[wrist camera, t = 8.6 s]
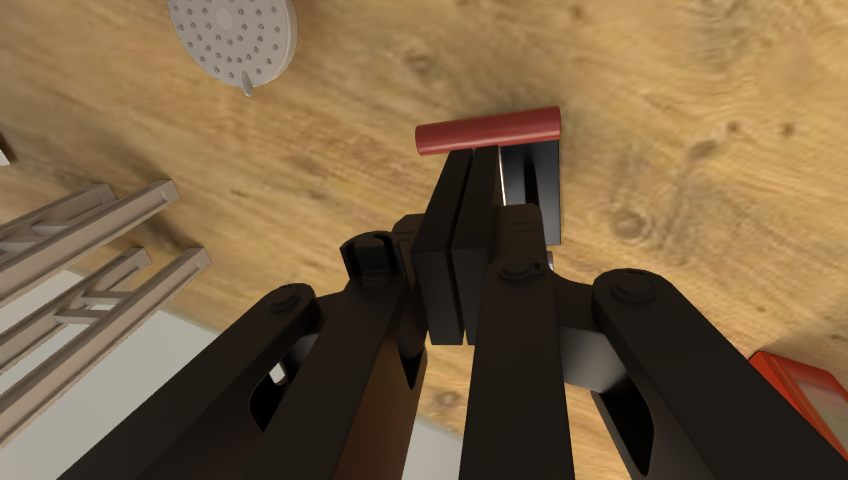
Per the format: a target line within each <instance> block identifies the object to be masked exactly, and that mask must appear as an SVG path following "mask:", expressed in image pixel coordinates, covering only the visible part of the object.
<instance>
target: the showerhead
mask: <svg viewBox="0 0 848 480" xmlns="http://www.w3.org/2000/svg"><path fill="white" fill-rule="evenodd" d="M168 6H169V12H170V16H171V19H172V22H173V26H174V28H175V30H176V32H177V35H178V37H179V39H180V41H181V42H182V44H183V46H184V47H185V49H186V50H187V52H188V53H189V54H190V56H191V57H192V58H193V59H194V61H195V62H196V63H197V64H198V65H199V66H200V67H201V68H202V69H203V70H205V71H206V72H207V73H208V74H210V75H211V76H213V77H214V78H216V79H217V80H219V81H221V82H223V83H226V84H228V85H231V86H235V87H241V88H243V91H244V94H245V95H246V96H247V97H252V96H253V87H257V86H260V85H263V84H265V83H267V82H269V81H272V80H274V79H276V78H277V77H279V76H280V75H281V74H282V73H283V72H284V71H285V70H286V69H287V67H288V66H289V64H290V62H291V61H292V58H293V56H294V53H295V50H296V45H297V37H298V26H297V17H296V12H295V8H294V4H293V1H292V0H168Z"/></svg>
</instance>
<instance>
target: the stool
mask: <svg viewBox="0 0 848 480" xmlns="http://www.w3.org/2000/svg"><path fill="white" fill-rule="evenodd" d="M180 198H181V197H180V195H179V193H178V191H177V188H176V186H175V184H174V182H173V180H156V181H154V182H152V183H150V184H148V185H146V186H144V187H143V188H141V189H139V190H137V191H135V192H133V193H131V194H129V195H127V196H125V197H123V198H121V199H119V200H118V201H117V199H116V197H115V195H114V194H113V192H112V190H111V188H110V186H109V185H108V183H96V184H91V185H89V186H87V187H84V188H82V189H80V190H78V191H75V192H73V193H71V194H69V195H67V196H64V197H62V198H60V199H58V200H55V201H53V202H51V203H49V204H47V205H44V206H42V207H40V208H38V209H35V210H33V211H31V212H29V213H27V214H24V215H22V216H20V217H18V218H15V219H13V220H11V221H9V222H7V223H4V224H2V225H0V309H1V308H2V307H4V306H6V305H7V304H9V303H11V302H12V301H14V300H16V299H17V298H19V297H21V296H22V295H23V294H25V293H27V292H29V291H30V290H32V289H34V288H35V287H37V286H38V285H40V284H42V283H43V282H45V281H47V280H48V279H50V278H52V277H53V276H55V275H56V274H58V273H60V272H61V271H63V270H65V269H66V268H68V267H69V266H71V265H73V264H74V263H76V262H78V261H79V260H81V259H83V258H84V257H86V256H87V255H89V254H91V253H92V252H94V251H96V250H97V249H99V248H100V247H102V246H104V245H105V244H107V243H109V242H110V241H112V240H114V239H115V238H117V237H118V236H120V235H122V234H123V233H125V232H127V231H128V230H130V229H132V228H133V227H135V226H136V225H138V224H140V223H141V222H143V221H145V220H146V219H148V218H149V217H151V216H153V215H154V214H156V213H158V212H159V211H161V210H163V209H164V208H166V207H167V206H169V205H171V204H172V203H174V202H176V201H177V200H179V199H180ZM151 263H152V262H151V260H150V258H149V256H148V254H147V253H146V251H145V249H144V248H130V249H128V250H126V251H125V252H123V253H122V254H120V255H119V256H117V257H116V258H114V259H113V260H111V261H110V262H108V263H107V264H105V265H104V266H102V267H101V268H99V269H98V270H96V271H95V272H93V273H92V274H90V275H89V276H87V277H86V278H84V279H83V280H81V281H80V282H78V283H77V284H75V285H74V286H72V287H71V288H69V289H68V290H66V291H65V292H63V293H61V294H60V295H58V296H57V297H55V298H54V299H52V300H51V301H49V302H48V303H46V304H45V305H43V306H42V307H40V308H39V309H37V310H36V311H34V312H33V313H31V314H30V315H28V316H27V317H25V318H24V319H22V320H21V321H19V322H18V323H16V324H15V325H13V326H12V327H10V328H9V329H7V330H6V331H4V332H3V333H1V334H0V375H2V374H3V373H4V372H6V371H7V370H8V369H10V368H11V367H12V366H14V365H15V364H17V363H18V362H19V361H20V360H22V359H23V358H24V357H26V356H27V355H29V354H30V353H31V352H33V351H34V350H35V349H37V348H38V347H39V346H41V345H42V344H43V343H45V342H46V341H47V340H49V339H50V338H51V337H53V336H54V335H55V334H57V333H58V332H60V331H61V330H62V329H64V328H65V327H66V326H68V325H69V324H70V323H71V324H72V323H73V324H91V325H90V326H89V327H87V328H86V329H85V330H83V331H82V332H81V333H80V334H78V335H77V336H76V337H75V338H73V339H72V340H71V341H69V342H68V343H67V344H66V345H64V346H63V347H62V348H60V349H59V350H58V351H57V352H55V353H54V354H53V355H52V356H50V357H49V358H48V359H46V360H45V361H44V362H42V363H41V364H40V365H39V366H37V367H36V368H35V369H34V370H32V371H31V372H30V373H28V374H27V375H26V376H25V377H23V378H22V379H21V380H19V381H18V382H17V383H16V384H14V385H13V386H12V387H11V388H9V389H8V390H7V391H5V392H4V393H3V394H2V395H0V450H2V449H3V448H4V447H5V446H6V445H7V444H9V443H10V442H11V441H12V440H13V439H14V438H15V437H16V436H18V435H19V434H20V433H21V432H22V431H23V430H24V429H25V428H27V427H28V426H29V425H30V424H31V423H32V422H33V421H34V420H35V419H37V418H38V417H39V416H40V415H41V414H42V413H43V412H45V411H46V410H47V409H48V408H49V407H50V406H51V405H52V404H54V403H55V402H56V401H57V400H58V399H59V398H60V397H61V396H63V395H64V394H65V393H66V392H67V391H68V390H69V389H70V388H71V387H73V386H74V385H75V384H76V383H77V382H78V381H79V380H80V379H82V378H83V377H84V376H85V375H86V374H87V373H88V372H89V371H91V370H92V369H93V368H94V367H95V366H96V365H97V364H98V363H100V362H101V361H102V360H103V359H104V358H105V357H106V356H107V355H109V354H110V353H111V352H112V351H113V350H114V349H115V348H116V347H118V346H119V344H121V343H122V342H123V341H124V340H125V339H127V338H128V337H129V336H130V335H131V334H132V333H133V332H134V331H136V330H137V329H138V328H139V327H140V326H141V325H142V324H143V323H145V322H146V321H147V320H148V319H149V318H150V317H151V316H152V315H154V314H155V313H156V312H157V311H158V310H159V309H160V308H161V307H163V306H164V305H165V304H166V303H167V302H168V301H169V300H170V299H172V298H173V297H174V296H175V295H176V294H177V293H178V292H179V291H181V290H182V289H183V288H184V287H185V286H186V285H187V284H188V283H190V282H191V281H192V280H193V279H194V278H195V277H196V276H197V275H199V274H200V273H201V272H202V271H203V270H204V269H205V268H206V267H208V266H209V265H210V264H211V261H210V259H209V256H208V254H207V252H206V250H205V248H188V249H187V250H186V251H185V252H183V253H182V254H181V255H179V256H178V257H177V258H176V259H174V260H173V261H172V262H170V263H169V264H168V265H167V266H165V267H164V268H163V269H161V270H160V271H159V272H158V273H156V274H155V275H154V276H153V277H151V278H150V279H149V280H147V281H146V282H145V283H144V284H142V285H141V286H140V287H138V288H137V289H136V290H135V291H133V292H121V291H115V290H116V289H118V288H119V287H120V286H122V285H123V284H124V283H126V282H127V281H128V280H130V279H131V278H132V277H134V276H135V275H136V274H138V273H139V272H140V271H142V270H143V269H144V268H146V267H147V266H148V265H150V264H151ZM96 304H104V305H115V306H114V307H113V308H112V309H110V310H89V309H91V308H92V307H93V306H95V305H96Z"/></svg>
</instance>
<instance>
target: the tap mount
mask: <svg viewBox="0 0 848 480" xmlns="http://www.w3.org/2000/svg"><path fill="white" fill-rule="evenodd" d="M472 151H473V158H474V154H475V149H473V150H472ZM501 153H502V161H503V169H504V177H505V186H506V194H507V202H508V205H514V204H526V203H533V204H534V205H536V206H537V207H538V208H539V209H540V210H541V211H542V218H543V226H544V234H545V242H546V246H547V245H560V244H561V231H560V182H559V139H556V140H548V141H539V142H531V143H523V144H515V145H506V146H501ZM547 258H548V263H549V266H550V268H551V269H552V270H553V271H554V268H553V255H552V251H547Z"/></svg>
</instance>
